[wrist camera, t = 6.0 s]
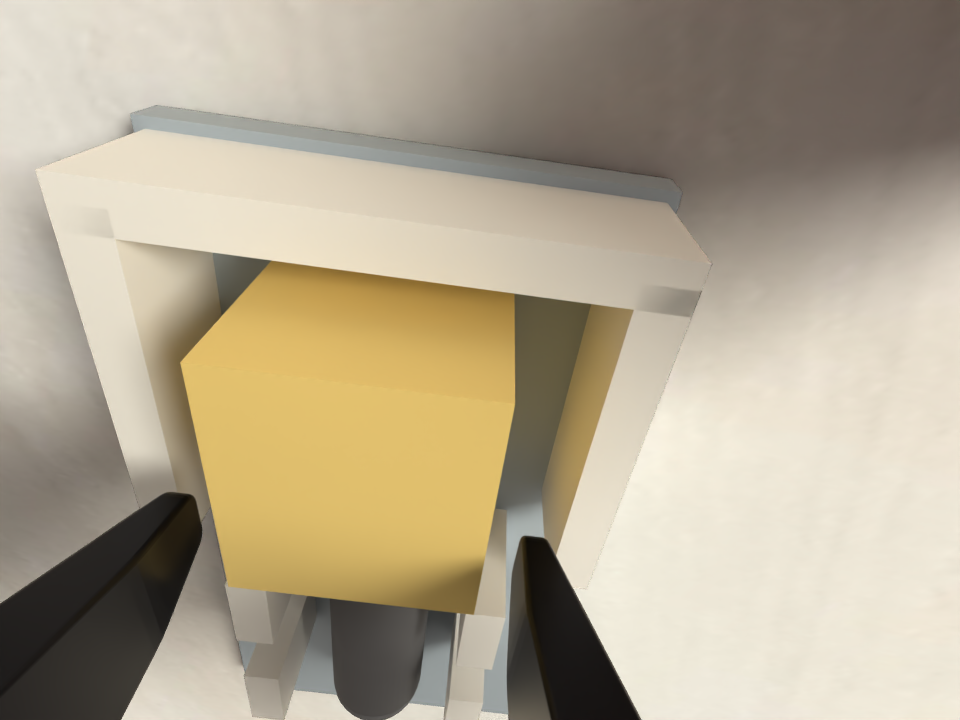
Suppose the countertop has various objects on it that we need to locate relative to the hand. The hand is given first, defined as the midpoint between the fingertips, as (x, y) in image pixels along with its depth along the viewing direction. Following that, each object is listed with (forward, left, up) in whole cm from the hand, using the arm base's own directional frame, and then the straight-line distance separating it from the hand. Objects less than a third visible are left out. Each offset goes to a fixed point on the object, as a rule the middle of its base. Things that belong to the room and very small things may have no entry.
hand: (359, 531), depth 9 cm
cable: (-3, 0, -4) cm, 5 cm away
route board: (-4, 0, -4) cm, 6 cm away
